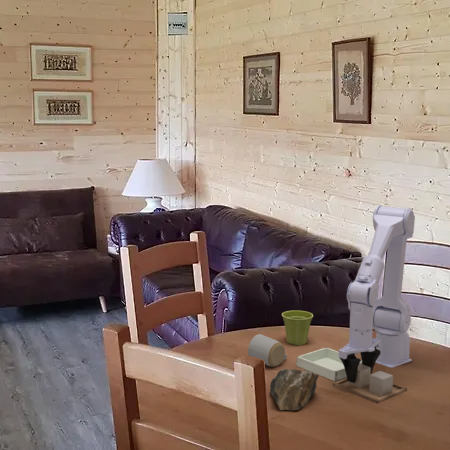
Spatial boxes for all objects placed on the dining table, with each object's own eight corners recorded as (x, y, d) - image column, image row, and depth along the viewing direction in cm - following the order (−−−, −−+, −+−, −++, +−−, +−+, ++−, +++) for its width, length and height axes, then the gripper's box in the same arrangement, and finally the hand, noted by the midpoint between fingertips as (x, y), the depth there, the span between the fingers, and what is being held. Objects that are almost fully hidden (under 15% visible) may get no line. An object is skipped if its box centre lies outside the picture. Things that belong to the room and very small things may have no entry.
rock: (295, 416, 164) (305, 375, 163) (253, 400, 169) (263, 360, 168) (316, 406, 177) (325, 367, 176) (277, 391, 182) (286, 354, 181)
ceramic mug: (269, 371, 191) (270, 343, 190) (246, 363, 196) (247, 336, 195) (293, 361, 199) (294, 335, 197) (271, 354, 204) (271, 328, 203)
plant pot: (278, 337, 218) (279, 310, 217) (308, 336, 219) (309, 309, 218) (284, 347, 209) (285, 319, 208) (315, 346, 210) (316, 318, 209)
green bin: (325, 357, 201) (326, 347, 201) (364, 371, 191) (365, 361, 190) (296, 367, 194) (296, 356, 193) (335, 382, 183) (335, 371, 183)
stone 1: (357, 379, 184) (358, 363, 184) (370, 384, 181) (370, 367, 181) (347, 383, 182) (348, 366, 181) (359, 388, 179) (360, 371, 178)
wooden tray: (363, 375, 188) (363, 371, 188) (407, 391, 178) (407, 388, 177) (332, 386, 181) (333, 383, 180) (376, 404, 170) (377, 400, 170)
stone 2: (379, 387, 179) (380, 370, 178) (392, 392, 176) (393, 375, 175) (369, 391, 177) (370, 374, 176) (382, 396, 174) (383, 379, 173)
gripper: (354, 337, 171) (352, 390, 174) (391, 326, 181) (389, 376, 183) (332, 330, 177) (331, 382, 179) (369, 319, 186) (367, 368, 188)
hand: (359, 378), depth 181 cm, fingers open, 5 cm apart
